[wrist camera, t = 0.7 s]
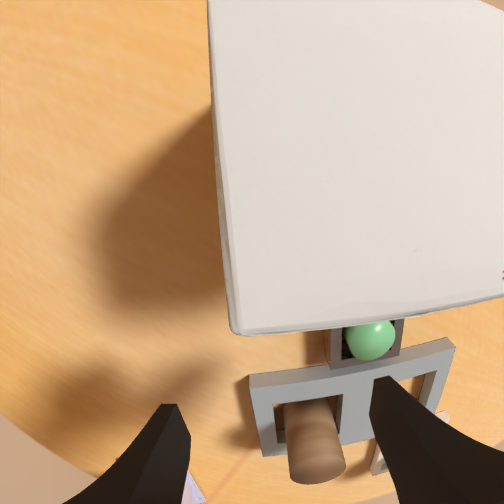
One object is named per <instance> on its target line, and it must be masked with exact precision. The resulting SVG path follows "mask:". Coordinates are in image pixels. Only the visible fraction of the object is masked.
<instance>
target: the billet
mask: <svg viewBox="0 0 504 504" xmlns="http://www.w3.org/2000/svg"><path fill="white" fill-rule="evenodd" d="M283 419H284V427H285V436H286V445H287V454H288V462H289V471H290V478H291V479H292V480H293V481H294V482H296V483H300V484H318V483H323V482H326V481H329V480H332V479H334V478H336V477H337V476H339V475H340V474H341V473H343V471H344V470H345V468H346V463H345V459H344V455H343V451H342V448H341V444H340V440H339V437H338V433H337V429H336V426H335V422H334V418H333V415H332V411H331V408H330V404H329V401H328V398H327V397H322V398H316V399H310V400H303V401H296V402H288V403H285V404H284V406H283Z"/></svg>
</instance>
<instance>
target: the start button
mask: <svg viewBox="0 0 504 504" xmlns="http://www.w3.org/2000/svg"><path fill="white" fill-rule="evenodd" d="M343 335H344V337H345V339H346V341H347V344H348V346H349V348H350V350H351V352H352V354H353V355H354V356H355V357H356V358H358V359H360V360H373V359H376V358H378V357H380V356H382V355H383V354H385V353H386V352H387V351H388V350H389V349H390V347H391V346H392V344H393V342H394V340H395V329H394V327H393V326H392V324H391V323H390V321H383V322H376V323H370V324H363V325H356V326H349V327H343Z"/></svg>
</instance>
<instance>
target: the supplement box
mask: <svg viewBox="0 0 504 504" xmlns="http://www.w3.org/2000/svg"><path fill="white" fill-rule="evenodd" d="M207 24H208V46H209V66H210V88H211V107H212V125H213V143H214V159H215V174H216V189H217V202H218V216H219V227H220V238H221V249H222V260H223V270H224V280H225V290H226V299H227V308H228V319H229V327H230V329H231V331H232V332H233V333H234V334H236V335H241V336H264V335H279V334H289V333H297V332H305V331H314V330H324V329H333V328H341V327H349V326H356V325H363V324H370V323H376V322H383V321H389V320H396V319H403V318H413V317H418V316H423V315H427V314H430V313H435V312H439V311H444V310H450V309H454V308H459V307H463V306H468V305H472V304H477V303H481V302H486V301H490V300H494V299H498V298H502V297H504V11H502V10H500V9H498V8H495V7H493V6H491V5H489V4H486V3H484V2H482V1H480V0H207Z"/></svg>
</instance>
